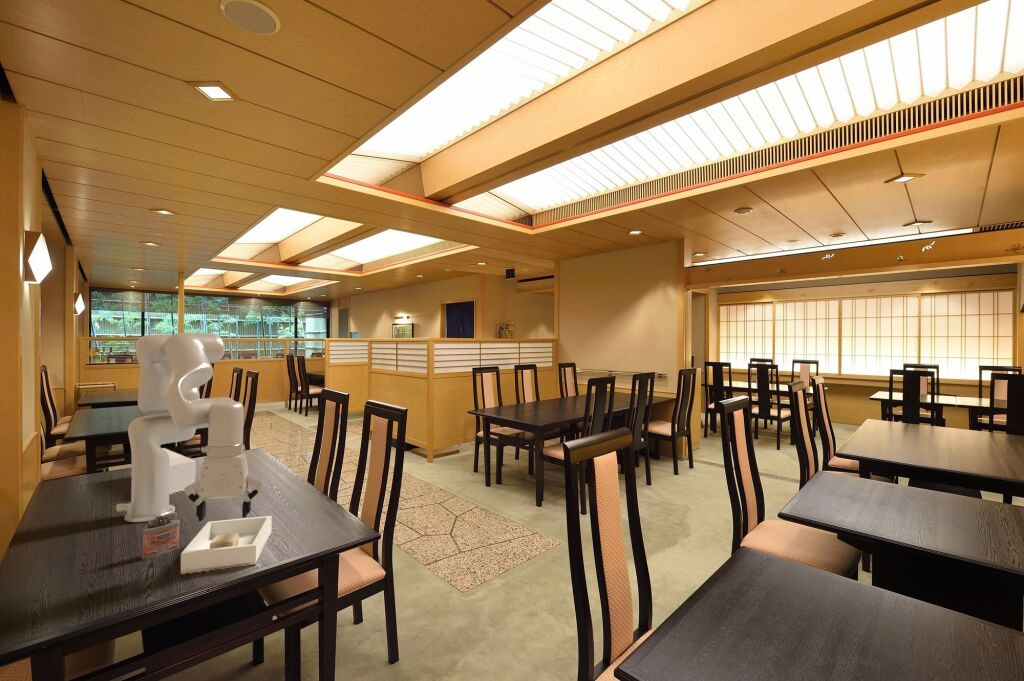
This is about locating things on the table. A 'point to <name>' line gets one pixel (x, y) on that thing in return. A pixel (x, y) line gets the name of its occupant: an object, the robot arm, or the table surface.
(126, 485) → the table surface
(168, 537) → the lighter
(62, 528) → the table surface
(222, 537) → the cube
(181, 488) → the white long block
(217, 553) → the tote
